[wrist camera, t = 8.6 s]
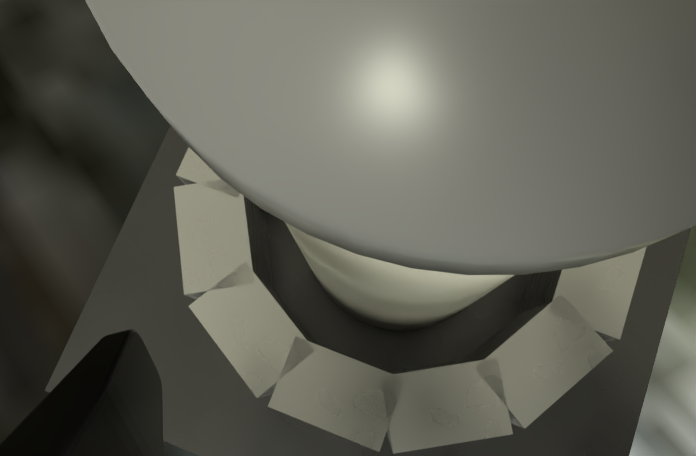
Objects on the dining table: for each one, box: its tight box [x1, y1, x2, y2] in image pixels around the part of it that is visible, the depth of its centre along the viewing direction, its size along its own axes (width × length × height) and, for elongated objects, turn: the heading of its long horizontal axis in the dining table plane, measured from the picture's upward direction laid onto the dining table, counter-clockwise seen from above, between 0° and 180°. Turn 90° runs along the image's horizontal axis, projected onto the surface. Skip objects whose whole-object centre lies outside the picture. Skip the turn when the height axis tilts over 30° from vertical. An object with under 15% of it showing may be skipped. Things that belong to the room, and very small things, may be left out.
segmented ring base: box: [45, 125, 691, 456], centre depth 15 cm, size 14×14×4 cm
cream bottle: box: [86, 0, 696, 330], centre depth 10 cm, size 6×6×12 cm
